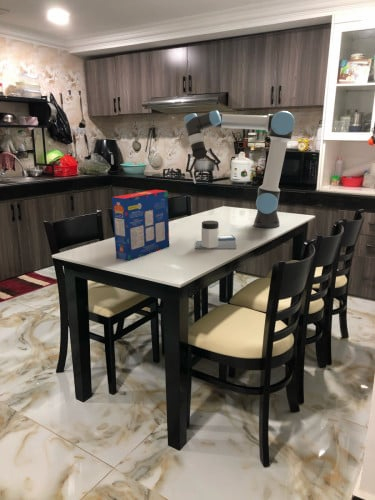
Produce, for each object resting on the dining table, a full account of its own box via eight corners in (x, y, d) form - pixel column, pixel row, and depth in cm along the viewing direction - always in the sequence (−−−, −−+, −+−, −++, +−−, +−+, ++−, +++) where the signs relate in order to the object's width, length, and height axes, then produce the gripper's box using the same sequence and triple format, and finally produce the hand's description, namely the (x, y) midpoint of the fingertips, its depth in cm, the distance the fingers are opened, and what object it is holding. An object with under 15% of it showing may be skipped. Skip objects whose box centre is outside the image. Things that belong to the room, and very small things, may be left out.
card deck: (232, 238, 209) (232, 234, 208) (235, 241, 203) (235, 237, 202) (215, 239, 207) (215, 235, 207) (219, 242, 201) (219, 238, 201)
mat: (235, 241, 200) (235, 240, 200) (236, 249, 186) (236, 248, 186) (196, 241, 201) (196, 240, 201) (195, 248, 188) (195, 248, 188)
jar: (222, 245, 192) (222, 221, 188) (212, 249, 186) (212, 224, 182) (208, 242, 197) (207, 219, 194) (197, 246, 191) (197, 222, 188)
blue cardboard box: (157, 244, 197) (155, 189, 190) (169, 246, 193) (167, 190, 185) (116, 258, 176) (111, 197, 168) (128, 261, 172) (124, 198, 164)
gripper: (217, 138, 220) (226, 175, 223) (174, 149, 218) (184, 186, 221) (219, 135, 213) (229, 173, 215) (175, 147, 211) (186, 185, 214)
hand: (206, 180), depth 218 cm, fingers open, 13 cm apart
